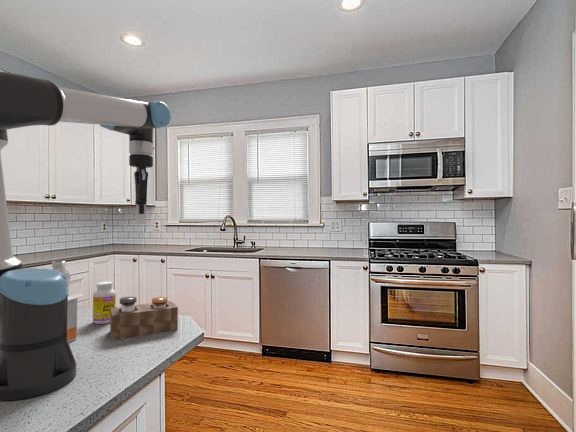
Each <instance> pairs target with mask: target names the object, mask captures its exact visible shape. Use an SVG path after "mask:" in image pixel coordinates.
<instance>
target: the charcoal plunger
mask: <svg viewBox="0 0 576 432" xmlns="http://www.w3.org/2000/svg"><path fill="white" fill-rule="evenodd" d="M136 303H137V296H124V297H123V296H122V297H120V298H119V304H120V305H121V307H122V311H121V313H124V312H131V311H135V304H136Z"/></svg>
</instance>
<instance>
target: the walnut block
mask: <svg viewBox="0 0 576 432" xmlns="http://www.w3.org/2000/svg"><path fill="white" fill-rule="evenodd" d="M153 306H154V304H152V302H151V303H143V304H136V305H135V311H131V312H124V313H121V311H122V306H117V307H115V308H110V323H109V332H111V333H110V337H111V340H112V341H117V340H118V339H119V340H122V339H123V340H125V339H129V338H135V337H136V338H137V337H143V336H149V335H155V334H160V333H168V332H174V331H177V330H178V329H179V328H178V327H179V324H178V322H179V321H178V319H179V317H178V316H179V314H178V313H179V309H178V306H177V305H176V304H175V303H174V301H172V300H167V303H166V307H163V308H155V309H153Z"/></svg>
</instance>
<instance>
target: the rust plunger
mask: <svg viewBox="0 0 576 432" xmlns="http://www.w3.org/2000/svg"><path fill="white" fill-rule="evenodd" d="M167 301H168V297H167V296H158V297H153V298H151V303H152V304H154V306H153V309H155V308H163V307H166V303H167Z"/></svg>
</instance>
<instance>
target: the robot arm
mask: <svg viewBox="0 0 576 432" xmlns="http://www.w3.org/2000/svg"><path fill="white" fill-rule="evenodd" d="M171 118H172V117H171V110H170V107H168V105H167V104H166V103H165V102H163V101H155V100H154V101H150V102H146V101H140V100H139V101H138V100H134V99H129V98H123V97H117V96H111V95H106V94H100V93H94V92H89V91H82V90H78V89H72V88H67V87H61V86H59V85H57V84H56V83H55V82H54V81H51V80H48V79H44V78H39V77H38V78H37V77H35V76H34V77H32V76H27V75H23V74H17V73H12V72H7V71H2V70H1V71H0V401H16V400H24V399H29V398H34V397H38V396H40V395H45V394H47V393H50V392H53V391H55V390H57V389H60V388H62V387H64V386H65V385H67V384H68V383H70V382H71V381H73V380H74V379H75V377H76V376H77V362H76V359H75V356H74V353H73V352H72V349H71V346H70V344H69V342H68V341H67V306H68V297H69V292H68V287H67V279H66V276H65V275H64V274H63V273H61V272H59V271H56V270H52V269H50V268H36V267H35V268H34V267H32V268H23V262H22V260H21V259H19V258H18V257H16V256H14V255H13V248H12V240H11V231H10V221H9V213H8V205H7V197H6V196H7V195H6V186H5V179H4V171H3V162H2V155H1V154H2V153H1V152H2V150H3V148H5V147H6V146H7V145H8V144H9V139H8V138H9V137H8V130H12V129H19V128H25V127H31V126H49V127H50V126H55V125H57V124H59V123H71V124H72V123H75V124H86V125H90V124H91V125H99V126H100V127H101V128H103V129H107V130H109V131H114V132H116V133H121V134H125V135H128V140H129V141H128V149H129V150H128V153H129V154H130V155H129V157H128V161H129V163H128V164H129V166H130V167H133V168H136V170H135V171H134V173H133V177H134V184H135V190H134V191H135V192H134V193H135V202H134V203H135V205H136V210H135V211H136V214H135V215H136V217H135V218H136V221H135V222H136V224H138V225H140V224H141V225H144V224H146V215H147V214H146V209H147V208H146V207H147V204H148V203H147V201H148V199H147V197H148V179H149V171H147V169H148V168H149V169H150V168H152V167H154V157H153V154H154V153H153V152H154V150H155V148H156V147H155V146H154V129H160V128H165V127H168V126H169V124H170V123H171V120H172V119H171Z"/></svg>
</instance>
